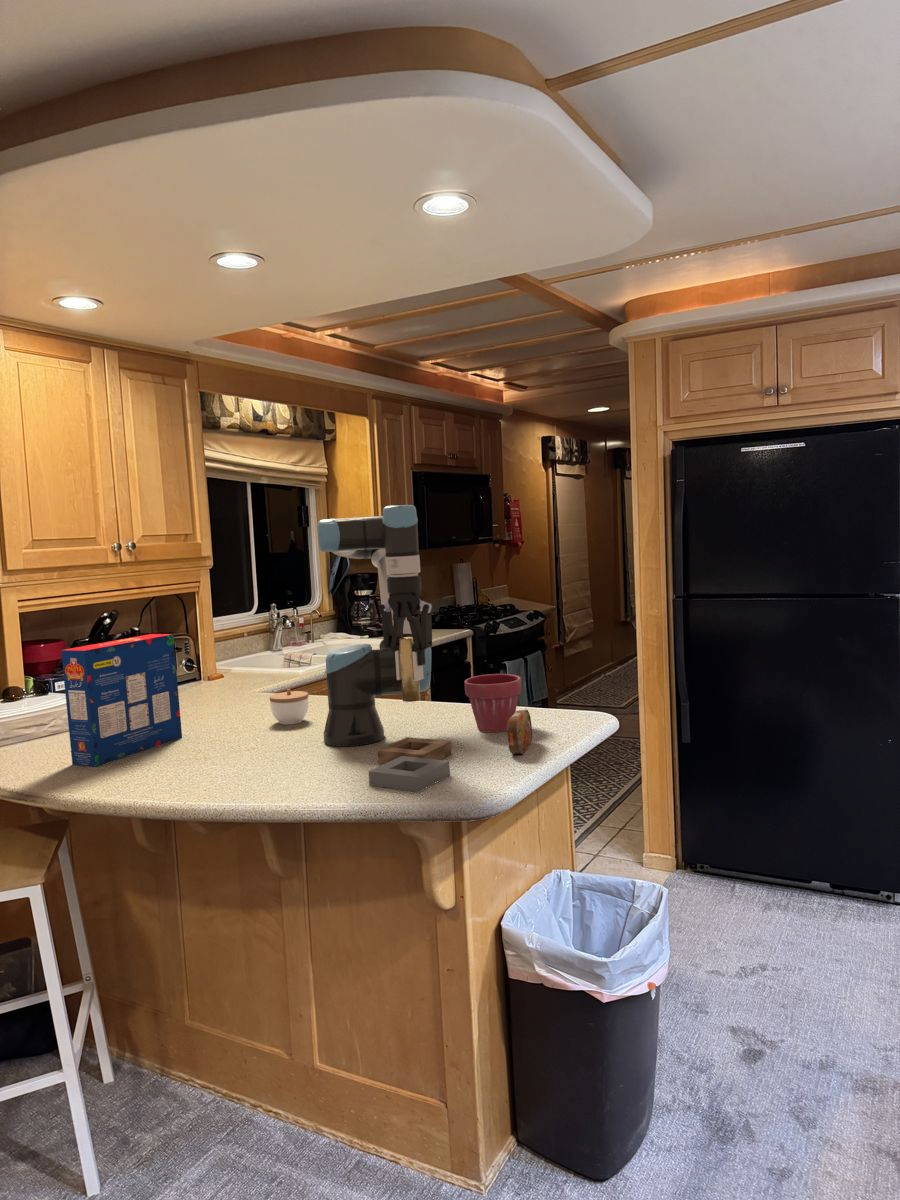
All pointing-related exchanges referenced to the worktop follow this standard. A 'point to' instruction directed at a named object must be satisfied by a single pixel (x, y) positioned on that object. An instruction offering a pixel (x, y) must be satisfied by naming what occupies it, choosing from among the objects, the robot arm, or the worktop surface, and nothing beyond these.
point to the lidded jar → (289, 706)
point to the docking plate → (409, 773)
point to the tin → (519, 732)
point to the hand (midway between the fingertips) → (410, 679)
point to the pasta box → (121, 698)
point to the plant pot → (493, 699)
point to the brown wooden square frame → (415, 749)
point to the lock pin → (408, 671)
